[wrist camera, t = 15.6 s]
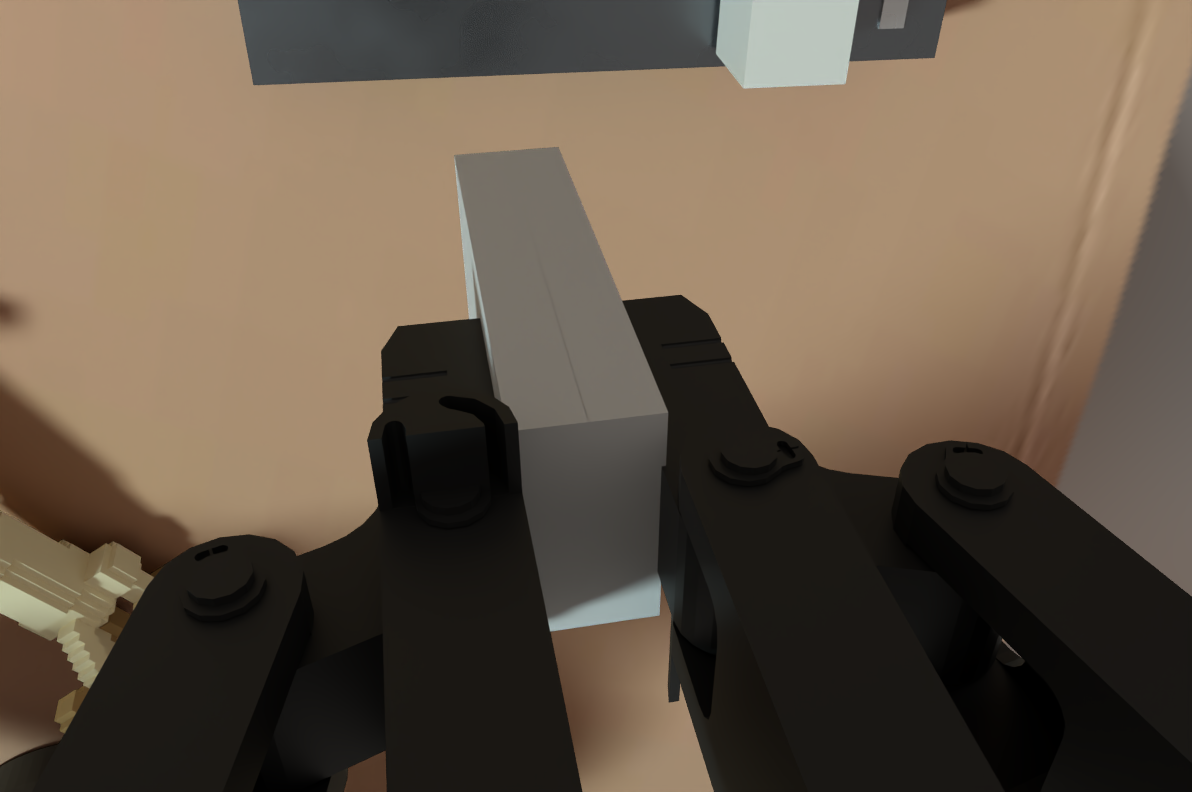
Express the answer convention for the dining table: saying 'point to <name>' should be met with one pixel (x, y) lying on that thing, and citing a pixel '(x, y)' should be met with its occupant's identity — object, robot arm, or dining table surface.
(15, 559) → the cream elongated figure
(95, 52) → the dining table surface
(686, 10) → the fader console
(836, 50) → the block
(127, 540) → the dining table surface
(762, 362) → the dining table surface
